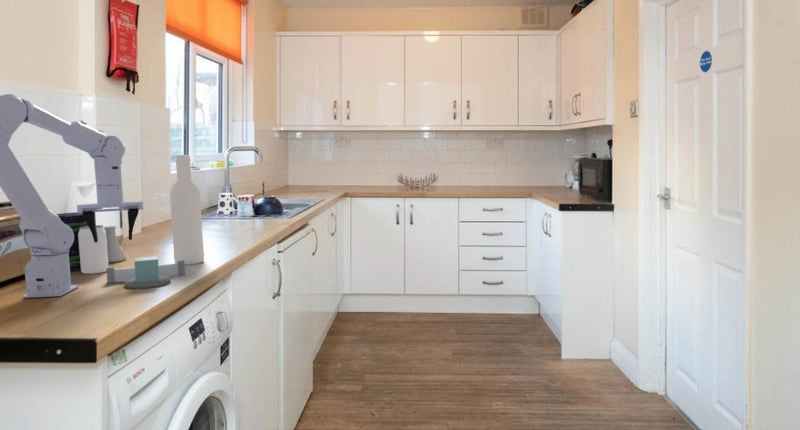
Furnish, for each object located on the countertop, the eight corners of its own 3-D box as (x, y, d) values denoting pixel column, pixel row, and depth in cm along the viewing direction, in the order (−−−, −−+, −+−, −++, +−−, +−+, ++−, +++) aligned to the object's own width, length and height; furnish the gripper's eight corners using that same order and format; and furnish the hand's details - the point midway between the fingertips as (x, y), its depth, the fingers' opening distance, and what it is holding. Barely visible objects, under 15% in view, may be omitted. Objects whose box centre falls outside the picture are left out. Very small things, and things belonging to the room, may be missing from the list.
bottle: (168, 264, 167) (160, 155, 164) (188, 259, 174) (181, 154, 171) (190, 265, 164) (183, 154, 161) (210, 260, 171) (204, 154, 168)
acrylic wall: (184, 274, 152) (184, 260, 152) (185, 275, 151) (184, 261, 151) (107, 281, 146) (106, 267, 145) (107, 283, 144) (106, 268, 144)
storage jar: (74, 265, 170) (70, 212, 168) (105, 265, 168) (101, 212, 166) (47, 272, 160) (42, 216, 159) (79, 272, 158) (75, 216, 157)
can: (78, 275, 155) (74, 228, 153) (84, 270, 161) (80, 226, 160) (106, 273, 156) (102, 227, 155) (110, 268, 163) (107, 224, 161)
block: (158, 276, 145) (157, 256, 145) (159, 280, 141) (157, 259, 140) (136, 278, 143) (134, 258, 143) (136, 282, 139) (134, 261, 138)
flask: (117, 258, 180) (115, 224, 179) (131, 260, 176) (128, 226, 175) (93, 261, 174) (90, 227, 173) (106, 264, 170) (104, 229, 169)
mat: (163, 287, 137) (163, 283, 137) (117, 289, 137) (117, 285, 136) (175, 278, 147) (175, 274, 147) (133, 280, 146) (132, 276, 146)
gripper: (141, 183, 154) (145, 236, 155) (77, 186, 148) (81, 240, 150) (141, 184, 147) (145, 239, 149) (74, 187, 142) (79, 244, 143)
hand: (113, 240), depth 149 cm, fingers open, 7 cm apart
